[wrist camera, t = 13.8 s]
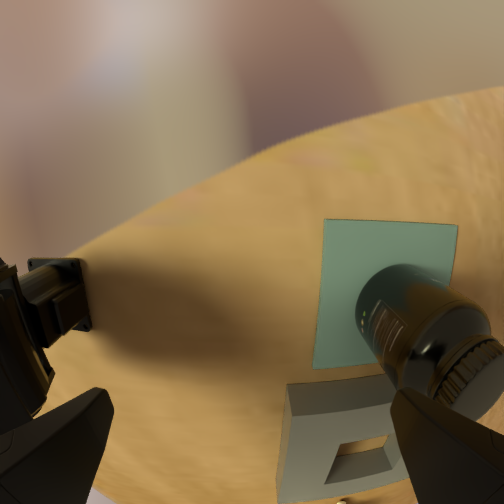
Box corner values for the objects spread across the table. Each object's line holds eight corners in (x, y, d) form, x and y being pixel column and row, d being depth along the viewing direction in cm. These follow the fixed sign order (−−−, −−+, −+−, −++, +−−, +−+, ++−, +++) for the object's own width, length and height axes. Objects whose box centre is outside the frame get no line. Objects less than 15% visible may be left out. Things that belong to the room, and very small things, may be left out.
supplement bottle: (428, 257, 19) (541, 317, 7) (418, 332, 20) (498, 417, 9) (352, 266, 19) (455, 358, 7) (348, 347, 20) (409, 463, 9)
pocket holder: (275, 479, 26) (277, 503, 22) (286, 384, 22) (292, 416, 18) (401, 457, 26) (410, 476, 22) (450, 359, 22) (470, 379, 18)
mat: (312, 365, 21) (313, 369, 21) (324, 218, 19) (326, 220, 18) (428, 349, 21) (431, 352, 21) (453, 224, 19) (457, 225, 18)
